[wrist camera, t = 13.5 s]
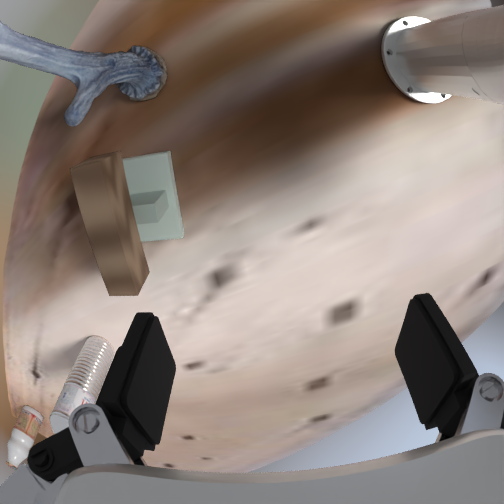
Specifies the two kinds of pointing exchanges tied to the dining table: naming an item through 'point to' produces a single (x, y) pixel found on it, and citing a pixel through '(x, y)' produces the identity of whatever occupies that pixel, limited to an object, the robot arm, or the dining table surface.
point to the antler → (88, 69)
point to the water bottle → (83, 380)
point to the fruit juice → (23, 436)
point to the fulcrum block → (154, 196)
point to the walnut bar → (111, 223)
